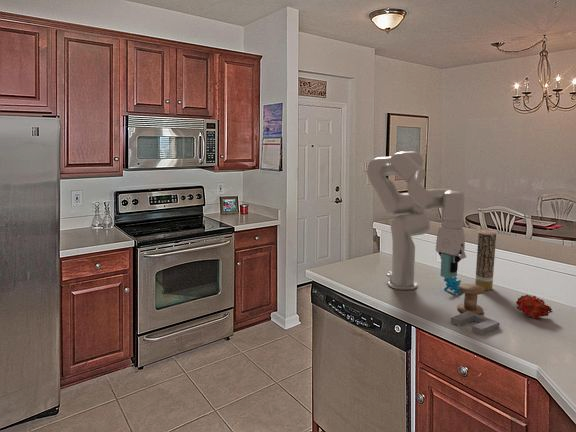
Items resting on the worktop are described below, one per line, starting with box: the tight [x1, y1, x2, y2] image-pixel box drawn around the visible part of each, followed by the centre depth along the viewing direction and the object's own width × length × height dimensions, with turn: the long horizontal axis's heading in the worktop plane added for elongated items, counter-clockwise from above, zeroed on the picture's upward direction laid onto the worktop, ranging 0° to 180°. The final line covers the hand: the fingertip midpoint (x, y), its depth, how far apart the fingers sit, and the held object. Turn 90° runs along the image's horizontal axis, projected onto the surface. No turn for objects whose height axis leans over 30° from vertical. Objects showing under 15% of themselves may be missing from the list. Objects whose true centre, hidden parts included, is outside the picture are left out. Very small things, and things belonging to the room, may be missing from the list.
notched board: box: [450, 311, 500, 336], centre depth 152 cm, size 12×10×2 cm
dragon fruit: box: [515, 294, 554, 321], centre depth 159 cm, size 8×8×12 cm
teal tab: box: [440, 253, 458, 278], centre depth 168 cm, size 4×5×9 cm
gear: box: [443, 276, 462, 295], centre depth 186 cm, size 11×6×10 cm
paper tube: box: [474, 229, 497, 291], centre depth 187 cm, size 7×7×25 cm
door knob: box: [456, 283, 486, 316], centre depth 165 cm, size 9×9×9 cm
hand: (449, 270), depth 168 cm, fingers closed on teal tab, 3 cm apart
